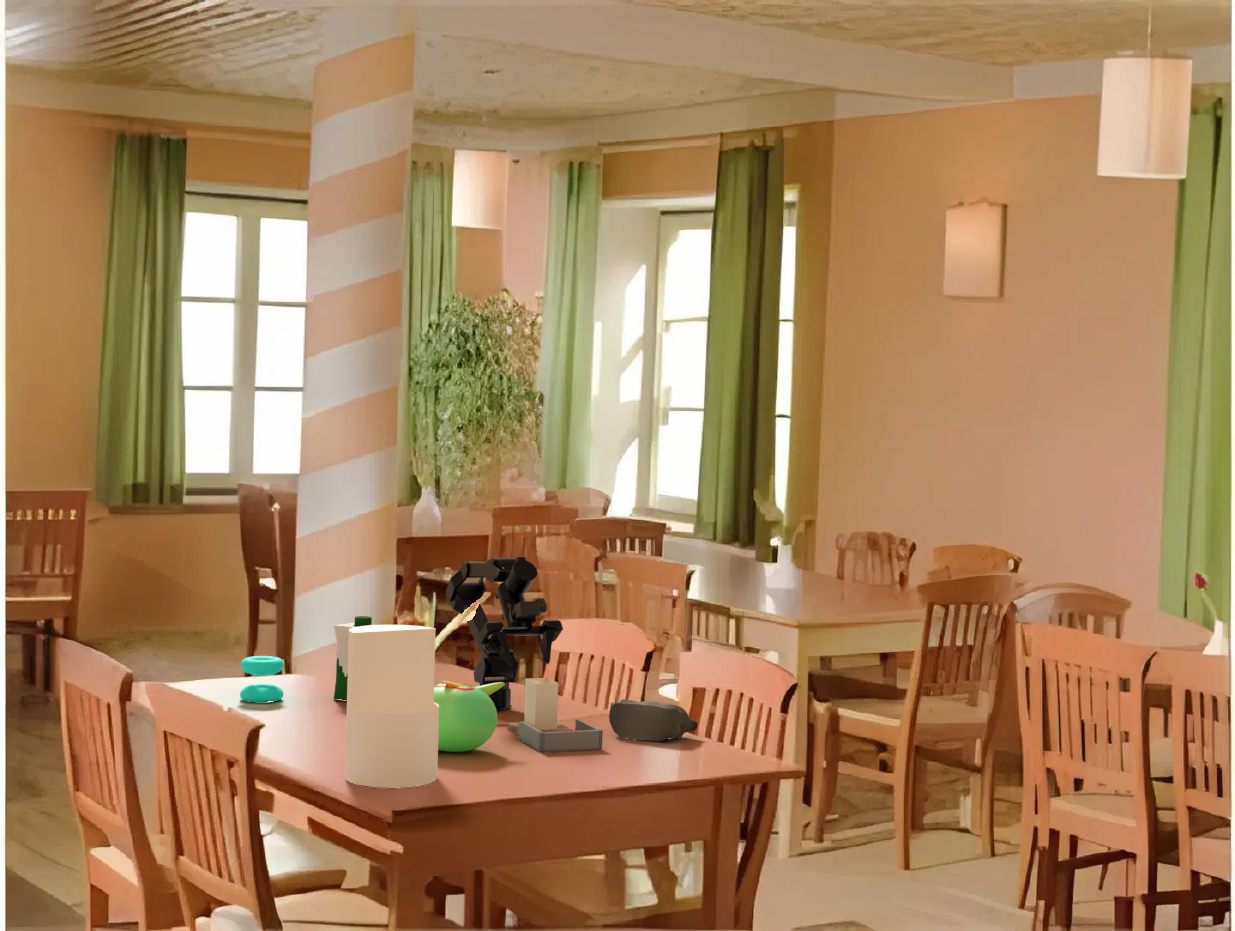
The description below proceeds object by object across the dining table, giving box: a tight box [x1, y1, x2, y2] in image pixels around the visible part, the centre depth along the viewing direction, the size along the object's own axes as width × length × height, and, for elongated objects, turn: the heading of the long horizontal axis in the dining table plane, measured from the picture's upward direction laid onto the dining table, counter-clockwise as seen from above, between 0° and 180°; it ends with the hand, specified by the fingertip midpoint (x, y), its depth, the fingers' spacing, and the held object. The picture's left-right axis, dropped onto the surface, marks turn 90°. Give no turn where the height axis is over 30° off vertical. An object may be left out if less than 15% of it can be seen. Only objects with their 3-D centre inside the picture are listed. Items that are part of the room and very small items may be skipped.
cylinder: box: [344, 624, 439, 787], centre depth 317 cm, size 17×17×28 cm
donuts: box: [239, 655, 285, 703], centre depth 396 cm, size 10×10×10 cm
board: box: [506, 721, 574, 736], centre depth 366 cm, size 12×11×2 cm
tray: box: [518, 718, 604, 754], centre depth 354 cm, size 14×14×4 cm
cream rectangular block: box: [523, 677, 559, 730], centre depth 365 cm, size 7×5×10 cm
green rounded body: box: [434, 680, 505, 753], centre depth 345 cm, size 18×17×15 cm
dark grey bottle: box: [608, 698, 698, 742], centre depth 366 cm, size 18×11×8 cm, turn 64°
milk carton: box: [333, 615, 374, 701], centre depth 400 cm, size 9×9×20 cm
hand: (529, 664), depth 377 cm, fingers open, 9 cm apart
